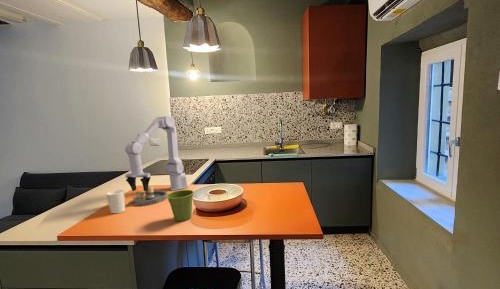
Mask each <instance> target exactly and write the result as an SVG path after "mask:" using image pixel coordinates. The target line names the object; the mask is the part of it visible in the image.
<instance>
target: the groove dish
mask: <svg viewBox="0 0 500 289" xmlns="http://www.w3.org/2000/svg"><path fill="white" fill-rule="evenodd" d="M167 194H168V192H167V191H165V190H154V195H153V194H152V195H148V196H146V193H145V196H146V201H138V200H137V197H136V195H135V196H134V197H133V199H132V201H133V204H134V205H135V204H136V205H135V206H139V205H144V206H150V205H155V204H158V203H161V202H163V201H166V200H168V198H167V197H166V195H167Z"/></svg>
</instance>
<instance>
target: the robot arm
mask: <svg viewBox="0 0 500 289" xmlns="http://www.w3.org/2000/svg"><path fill="white" fill-rule="evenodd" d="M175 124H176V123H175V119H174V118H173V117H172V116H170V115H165V116H157V117H155V118H154V119H153V120H152V123H151V124H150V125H149V126H148V127H147V129H146V130H145V131H144V132H141V133H138V134H137V135H136V137H135V138H134V139H133V140H131V143H127V145H126V146H125V149H124V151H125V153H126V154H127V156H128V163H129V168H130V173H125V174H124V176H125V181H126V182H127V183H128V185H129V186H130V189H131V191H133V192H135V191H137V183H136V181H137V178H140V182H141V184H142V187H143V188H142V189H143V191H147V190H148V187H149V185H150V181H151V173H150V172H144V170H143V165H142V164H143V162H142V157H141V153H142V150H143V147H145V145H146V144H148V142H149V140H150V137H151V136H152V135H153V134H154V133H155V132H156V131H157V130H158V129H162V130H163V131H165V132H166V138H167V150H168V159H167V160H166V165H165V170H166V172H167V174H168V175H169V181H170V186H169V188H170V190H171V191H172V192H174V191H179V190H185V189H187V188H188V182H187V176H186V172H184V171H185V170H184V169H185V168H184V164H183V161H182V159H180V158H179V150H178V148H179V147H178V134H177V127H176V125H175Z"/></svg>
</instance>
